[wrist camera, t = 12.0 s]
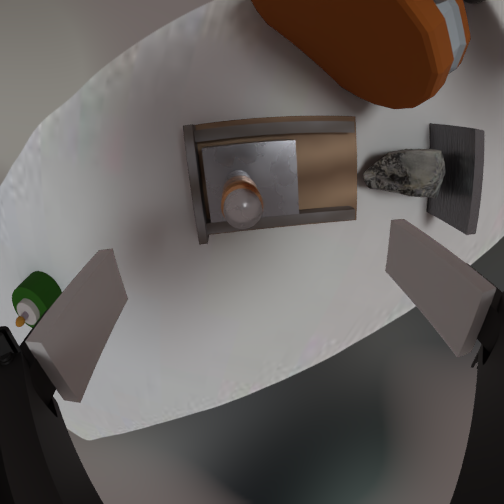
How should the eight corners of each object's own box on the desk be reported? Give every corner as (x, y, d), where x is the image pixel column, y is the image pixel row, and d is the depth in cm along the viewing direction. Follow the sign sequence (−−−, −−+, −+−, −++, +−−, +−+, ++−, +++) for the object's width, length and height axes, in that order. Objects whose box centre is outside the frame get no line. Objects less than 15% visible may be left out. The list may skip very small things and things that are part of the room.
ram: (204, 146, 32) (186, 158, 19) (288, 138, 32) (328, 146, 19) (212, 213, 36) (203, 267, 22) (292, 205, 36) (329, 253, 23)
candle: (53, 319, 42) (30, 354, 33) (22, 289, 40) (-6, 320, 30) (70, 294, 41) (43, 331, 32) (36, 261, 38) (3, 292, 29)
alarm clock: (404, 71, 30) (530, 56, 10) (365, 112, 33) (497, 117, 12) (287, -33, 23) (337, -133, 3) (238, 4, 26) (251, -110, 5)
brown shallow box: (186, 126, 32) (181, 126, 28) (351, 116, 33) (365, 116, 29) (200, 232, 38) (197, 244, 34) (352, 217, 39) (365, 227, 35)
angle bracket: (429, 123, 33) (475, 128, 24) (452, 126, 34) (496, 133, 24) (426, 211, 39) (466, 234, 30) (447, 210, 39) (487, 232, 30)
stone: (423, 223, 29) (460, 152, 25) (354, 178, 33) (390, 111, 29) (421, 224, 37) (451, 167, 33) (367, 188, 41) (396, 134, 37)
